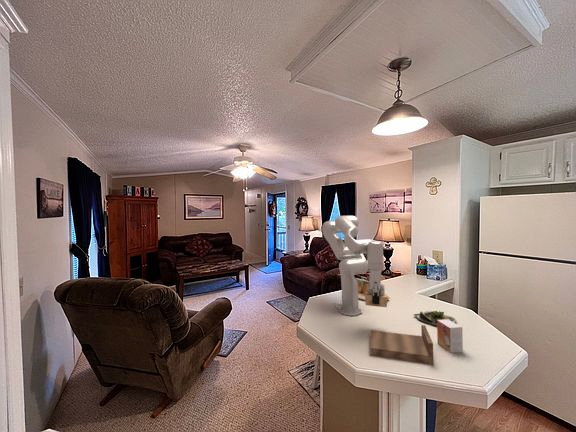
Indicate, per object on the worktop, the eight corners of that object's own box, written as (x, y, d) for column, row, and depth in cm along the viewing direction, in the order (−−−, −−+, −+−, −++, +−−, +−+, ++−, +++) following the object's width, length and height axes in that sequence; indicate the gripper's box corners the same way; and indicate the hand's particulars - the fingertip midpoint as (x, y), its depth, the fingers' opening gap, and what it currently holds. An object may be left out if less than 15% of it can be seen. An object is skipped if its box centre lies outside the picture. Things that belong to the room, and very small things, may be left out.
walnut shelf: (370, 354, 102) (369, 335, 102) (370, 336, 117) (370, 319, 117) (433, 364, 94) (433, 343, 94) (425, 343, 109) (425, 325, 109)
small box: (437, 343, 109) (436, 319, 109) (449, 342, 109) (448, 318, 109) (450, 353, 101) (449, 327, 101) (463, 352, 101) (462, 326, 101)
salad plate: (428, 310, 146) (428, 302, 146) (463, 320, 131) (462, 312, 131) (410, 319, 135) (409, 310, 135) (445, 331, 120) (445, 322, 120)
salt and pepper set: (365, 305, 123) (365, 285, 123) (365, 301, 128) (365, 282, 128) (386, 307, 120) (386, 287, 120) (386, 303, 125) (386, 284, 124)
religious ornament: (346, 295, 176) (346, 279, 176) (368, 291, 184) (368, 275, 184) (371, 306, 154) (370, 287, 154) (394, 301, 162) (394, 283, 162)
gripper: (367, 261, 133) (368, 295, 133) (366, 269, 117) (367, 307, 117) (382, 262, 130) (383, 296, 131) (383, 270, 114) (384, 309, 115)
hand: (375, 301), depth 124 cm, fingers closed on salt and pepper set, 5 cm apart
